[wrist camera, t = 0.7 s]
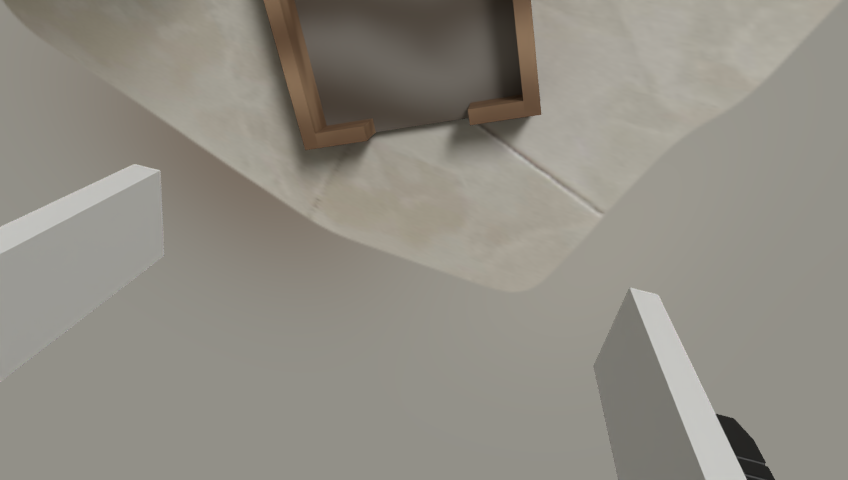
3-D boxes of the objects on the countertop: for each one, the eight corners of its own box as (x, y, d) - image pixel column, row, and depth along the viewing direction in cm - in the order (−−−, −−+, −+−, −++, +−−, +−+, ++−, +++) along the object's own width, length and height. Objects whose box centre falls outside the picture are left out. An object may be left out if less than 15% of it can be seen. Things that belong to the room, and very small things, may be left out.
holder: (254, -109, 32) (230, -119, 29) (512, -179, 29) (512, -198, 26) (320, 139, 38) (305, 150, 36) (538, 105, 35) (541, 114, 32)
